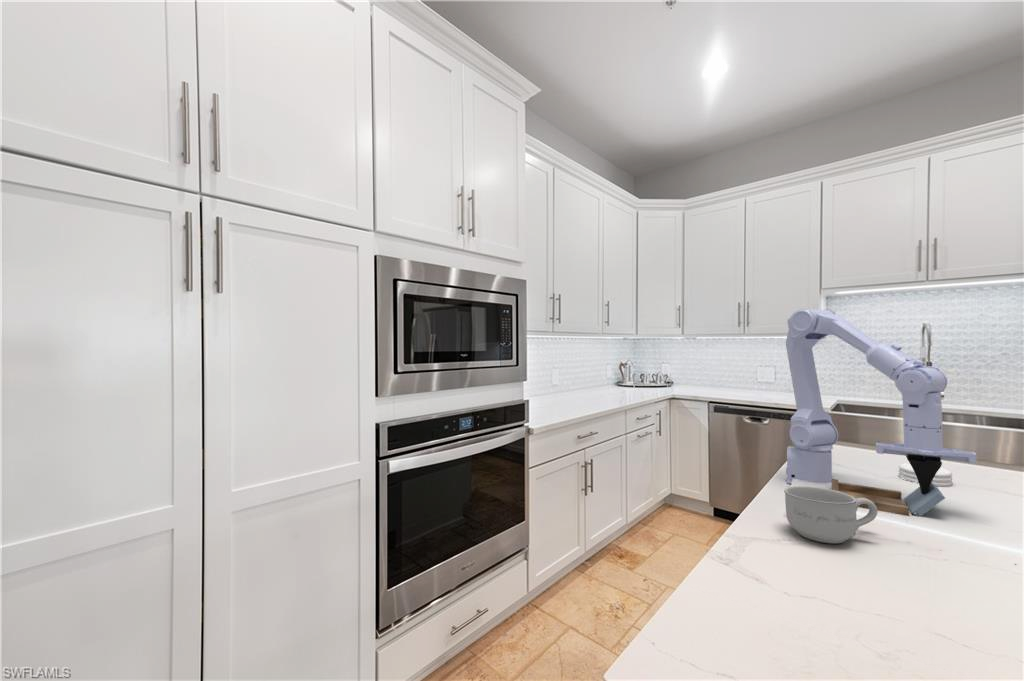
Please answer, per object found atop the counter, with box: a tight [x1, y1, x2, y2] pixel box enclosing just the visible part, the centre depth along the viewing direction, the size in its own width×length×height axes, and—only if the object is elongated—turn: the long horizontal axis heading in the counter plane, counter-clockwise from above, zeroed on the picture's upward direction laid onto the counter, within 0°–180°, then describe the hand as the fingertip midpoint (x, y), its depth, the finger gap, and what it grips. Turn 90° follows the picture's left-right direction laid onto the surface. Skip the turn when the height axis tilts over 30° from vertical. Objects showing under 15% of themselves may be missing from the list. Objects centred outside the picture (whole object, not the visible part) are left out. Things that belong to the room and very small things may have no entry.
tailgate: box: [903, 482, 946, 517], centre depth 86 cm, size 1×11×6 cm
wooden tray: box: [831, 478, 910, 517], centre depth 91 cm, size 12×12×4 cm
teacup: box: [783, 485, 878, 544], centre depth 77 cm, size 14×11×8 cm
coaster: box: [898, 462, 953, 488], centre depth 110 cm, size 10×10×4 cm
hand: (924, 493), depth 86 cm, fingers closed, pressing on tailgate
